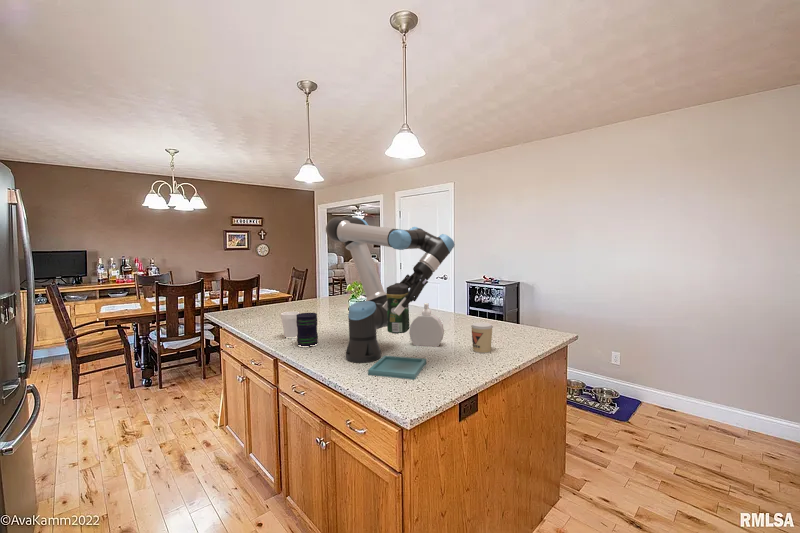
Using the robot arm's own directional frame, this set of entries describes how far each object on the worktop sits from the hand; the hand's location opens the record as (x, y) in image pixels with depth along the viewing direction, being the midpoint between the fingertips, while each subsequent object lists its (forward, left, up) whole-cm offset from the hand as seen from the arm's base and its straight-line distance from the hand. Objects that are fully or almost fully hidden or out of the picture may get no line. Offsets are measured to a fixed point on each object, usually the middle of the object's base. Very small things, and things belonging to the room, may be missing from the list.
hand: (390, 310), depth 141 cm
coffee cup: (+31, +35, -23) cm, 52 cm away
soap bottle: (+5, +38, -23) cm, 44 cm away
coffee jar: (+2, +2, -8) cm, 9 cm away
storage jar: (-51, +24, -23) cm, 61 cm away
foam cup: (-67, +34, -23) cm, 79 cm away
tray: (+2, +3, -23) cm, 23 cm away
